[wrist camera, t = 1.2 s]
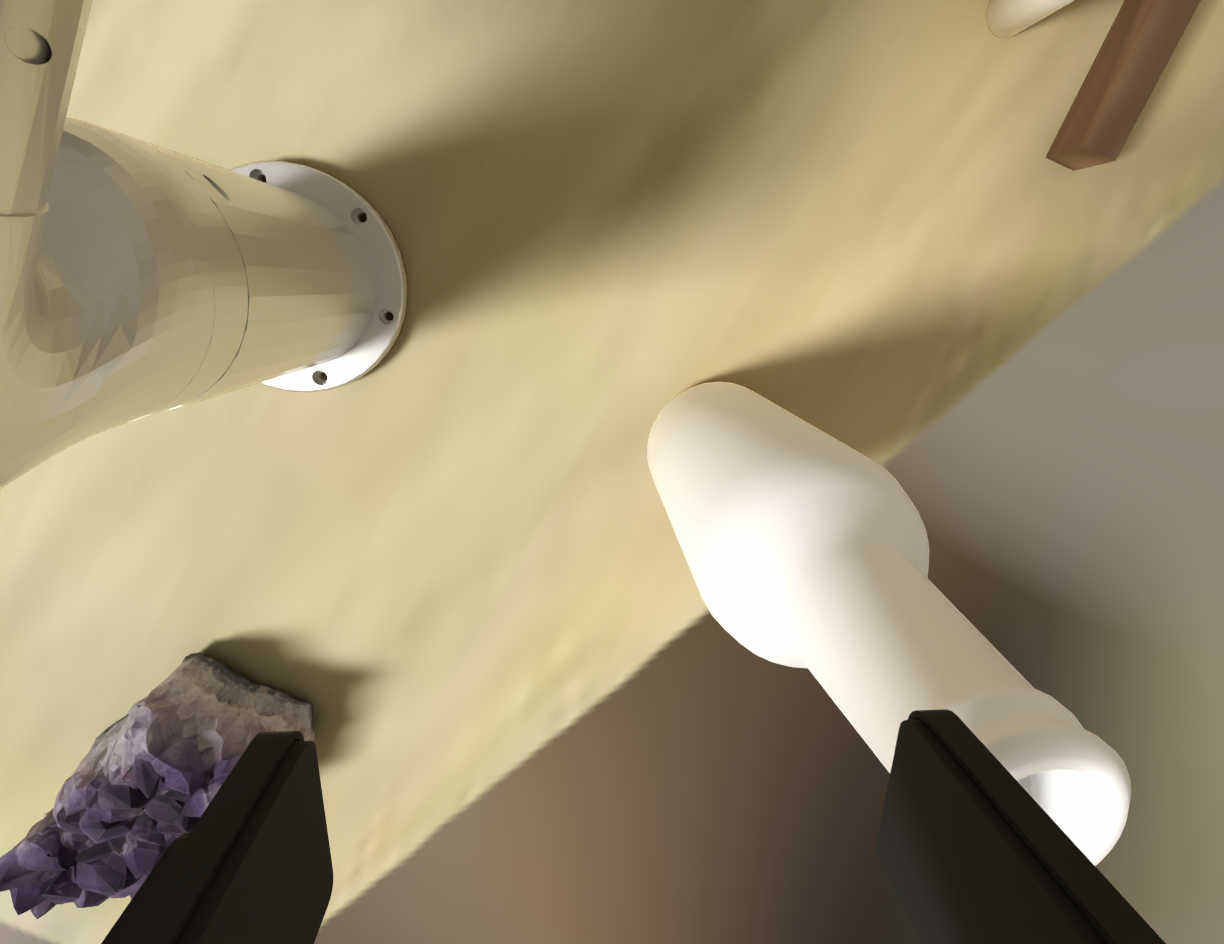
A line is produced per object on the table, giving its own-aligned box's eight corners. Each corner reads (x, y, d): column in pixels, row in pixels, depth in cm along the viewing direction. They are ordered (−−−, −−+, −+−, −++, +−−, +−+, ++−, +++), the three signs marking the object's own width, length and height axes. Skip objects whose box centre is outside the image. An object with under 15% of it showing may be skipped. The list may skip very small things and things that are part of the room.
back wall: (1045, 157, 37) (1085, 146, 34) (1202, -154, 33) (1263, -197, 30) (1073, 170, 37) (1115, 160, 34) (1232, -137, 33) (1294, -177, 30)
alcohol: (715, 350, 39) (1114, 526, 10) (805, 444, 41) (1344, 809, 12) (617, 448, 40) (725, 845, 12) (708, 534, 42) (990, 1049, 14)
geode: (173, 873, 48) (52, 1008, 39) (62, 769, 47) (-93, 882, 37) (354, 732, 45) (271, 842, 35) (239, 614, 43) (119, 695, 33)
